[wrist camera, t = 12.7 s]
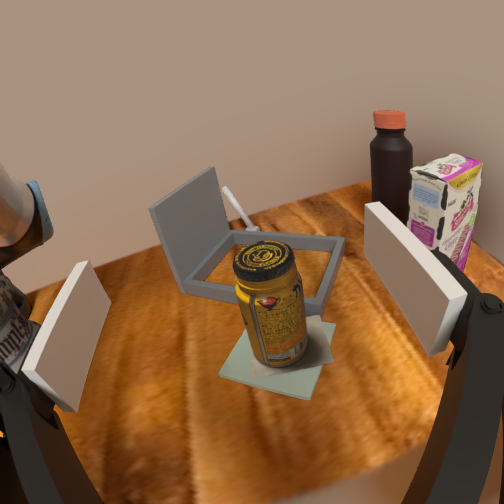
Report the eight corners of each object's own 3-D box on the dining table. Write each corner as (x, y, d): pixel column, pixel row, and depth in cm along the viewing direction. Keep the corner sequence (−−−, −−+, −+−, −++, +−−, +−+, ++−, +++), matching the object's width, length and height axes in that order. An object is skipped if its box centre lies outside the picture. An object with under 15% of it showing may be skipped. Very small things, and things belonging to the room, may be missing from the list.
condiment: (248, 329, 34) (223, 241, 28) (319, 315, 34) (312, 224, 28) (251, 379, 28) (221, 290, 22) (334, 364, 28) (334, 269, 22)
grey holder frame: (180, 293, 44) (148, 208, 36) (231, 236, 56) (213, 164, 48) (321, 318, 34) (313, 210, 27) (346, 245, 46) (341, 159, 39)
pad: (219, 376, 30) (217, 373, 30) (257, 313, 37) (256, 310, 37) (309, 400, 25) (309, 398, 25) (336, 326, 33) (336, 323, 32)
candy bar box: (425, 312, 31) (447, 181, 22) (396, 293, 35) (406, 168, 26) (466, 272, 34) (484, 160, 26) (440, 258, 38) (451, 150, 30)
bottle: (369, 238, 46) (364, 114, 36) (374, 219, 51) (369, 109, 41) (408, 243, 43) (411, 116, 33) (410, 223, 48) (410, 110, 38)
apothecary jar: (4, 387, 30) (-66, 297, 20) (49, 341, 38) (-10, 248, 29) (30, 430, 24) (-67, 327, 15) (83, 371, 33) (6, 259, 23)
